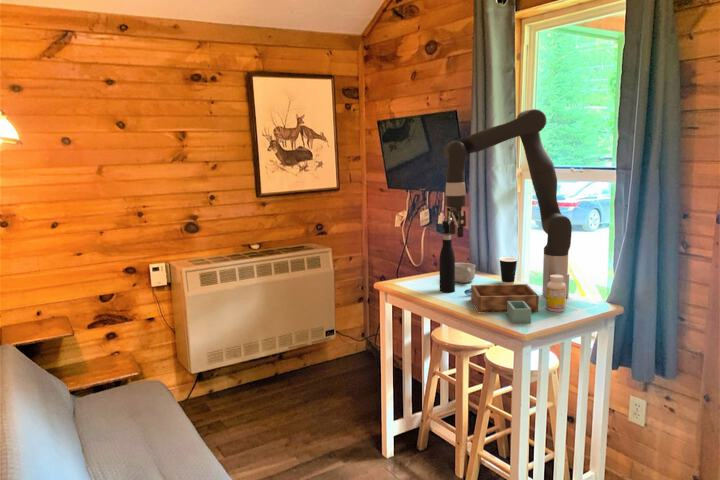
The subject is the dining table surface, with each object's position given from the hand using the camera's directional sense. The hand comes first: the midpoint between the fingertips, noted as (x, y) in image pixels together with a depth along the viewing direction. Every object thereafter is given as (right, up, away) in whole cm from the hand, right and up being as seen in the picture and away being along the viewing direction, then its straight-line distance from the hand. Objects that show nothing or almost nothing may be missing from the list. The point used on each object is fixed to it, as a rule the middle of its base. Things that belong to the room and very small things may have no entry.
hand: (456, 235), depth 210 cm
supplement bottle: (+35, -28, -10) cm, 46 cm away
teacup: (+9, -21, +33) cm, 40 cm away
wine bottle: (0, -24, +20) cm, 31 cm away
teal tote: (+19, -30, -19) cm, 40 cm away
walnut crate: (+18, -27, -3) cm, 32 cm away
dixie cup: (+28, -21, +29) cm, 46 cm away
